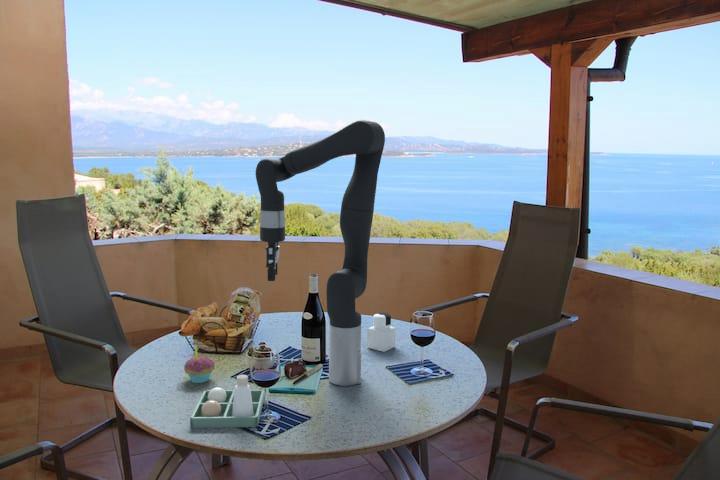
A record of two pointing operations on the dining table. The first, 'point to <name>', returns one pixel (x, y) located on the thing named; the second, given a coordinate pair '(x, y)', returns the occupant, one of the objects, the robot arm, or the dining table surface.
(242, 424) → the egg tray
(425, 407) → the dining table surface
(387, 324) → the medicine bottle
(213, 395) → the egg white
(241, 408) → the salt shaker
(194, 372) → the cupcake
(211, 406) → the egg brown
